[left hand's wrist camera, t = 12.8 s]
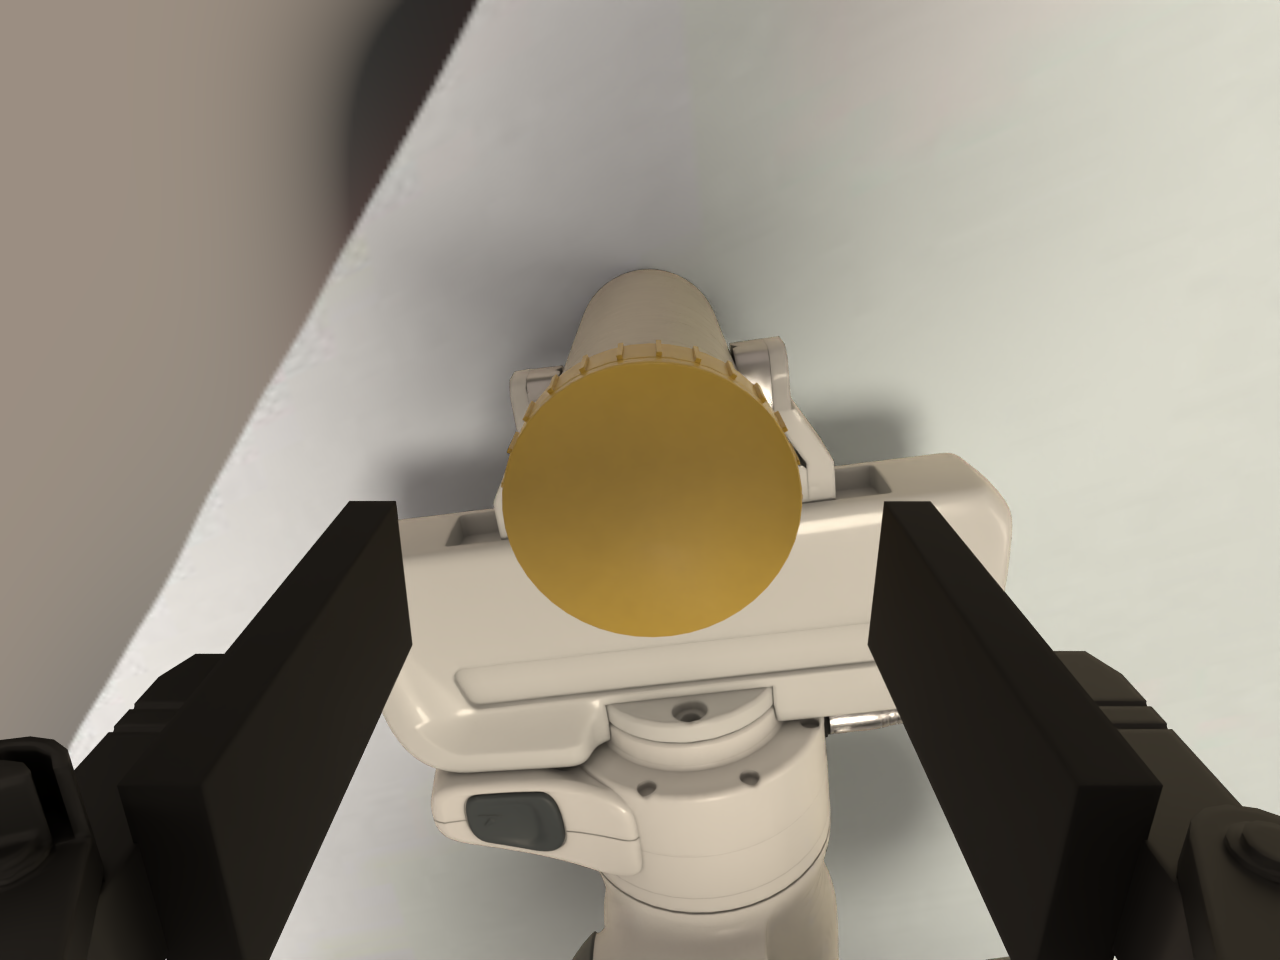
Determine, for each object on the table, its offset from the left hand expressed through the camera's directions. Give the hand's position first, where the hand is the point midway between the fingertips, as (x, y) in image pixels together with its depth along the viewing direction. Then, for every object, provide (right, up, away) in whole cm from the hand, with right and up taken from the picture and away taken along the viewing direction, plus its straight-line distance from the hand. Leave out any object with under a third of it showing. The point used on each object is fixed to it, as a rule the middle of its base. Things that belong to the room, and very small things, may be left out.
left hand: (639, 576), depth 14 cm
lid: (0, +1, +3) cm, 3 cm away
